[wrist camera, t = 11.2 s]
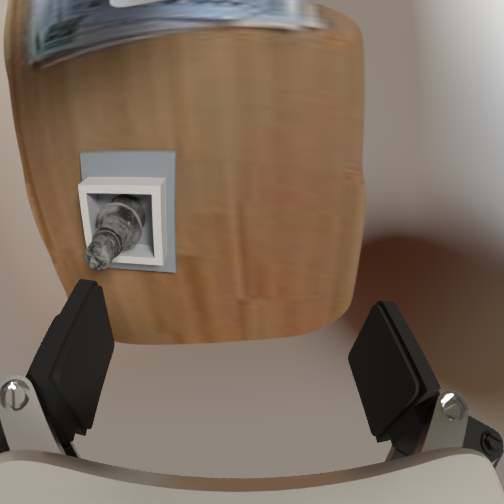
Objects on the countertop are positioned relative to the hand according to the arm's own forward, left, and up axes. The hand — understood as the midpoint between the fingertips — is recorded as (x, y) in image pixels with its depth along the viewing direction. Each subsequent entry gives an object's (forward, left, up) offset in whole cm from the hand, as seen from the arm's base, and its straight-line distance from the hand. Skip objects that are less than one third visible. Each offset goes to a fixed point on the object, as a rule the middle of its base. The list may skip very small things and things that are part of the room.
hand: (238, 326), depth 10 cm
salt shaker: (+8, -13, -27) cm, 30 cm away
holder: (+8, -13, -27) cm, 31 cm away
